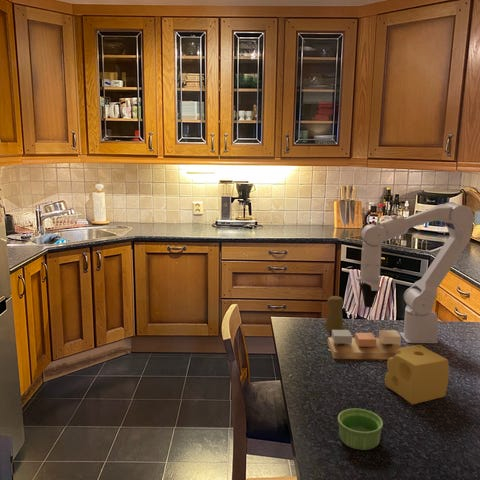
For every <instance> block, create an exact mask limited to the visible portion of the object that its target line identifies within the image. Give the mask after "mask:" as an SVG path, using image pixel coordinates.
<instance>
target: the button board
mask: <svg viewBox="0 0 480 480" xmlns="http://www.w3.org/2000/svg"><path fill="white" fill-rule="evenodd" d="M375 338H376V347H359V346H358V345H357V343H356V341H355V337H352V344H348V343H334V341H333V339H332V336H331V337H329V336H328V338H327V344H328V348H329V349H330V352H331V355H332V358H333V359H334V360H388V359H389V358H391V357H394V356H395V355H396V354H397V351H398V349H400V348H402V347H401V344H383V343H382V341H381V340H380V338H379V337H375Z"/></svg>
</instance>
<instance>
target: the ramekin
mask: <svg viewBox="0 0 480 480" xmlns="http://www.w3.org/2000/svg"><path fill="white" fill-rule="evenodd" d="M337 422H338V435H339V438H340V439H339V440H341V442H342V443H344V445H345V446H347V447H349V448H351V449H354V450H360V451H368V450H372V449H374V448H376V447H377V446H378V445H379V444H380V441H381V434H382V430H383V426H384V422H383V420H382V418H381V417H380V416H379V415H378V414H377V413H375V412H373V411H371V410H367V409H364V408H347V409H344V410H342V411H341V412H339V414H338V416H337Z"/></svg>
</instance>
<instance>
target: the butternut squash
mask: <svg viewBox="0 0 480 480" xmlns="http://www.w3.org/2000/svg"><path fill="white" fill-rule="evenodd" d="M327 306H328V311H327V317H326V321H325V327H324V328H325V330H326V331H328V332H330V333H332V330H345V328H344V320H343V306H344V299H343V297H341V296H338V295H331V296H329V297H328V298H327Z"/></svg>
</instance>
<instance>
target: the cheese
mask: <svg viewBox="0 0 480 480" xmlns="http://www.w3.org/2000/svg"><path fill="white" fill-rule="evenodd" d="M449 365H450V364H449V360H448V359H447V358H445V357H444V356H442V355H440V354H438V353H436V352H434V351H432V350H430V349H428V348H427V347H425V346H423V345H421V344H416V345H408V346H404V347H401V348H400V349H398V351H397V354H396V355H395V356H394V357H391V358H389V359H387V362H386V367H387V372H386V373H385V375H384V385H385V387H386V388H387V389H390V390H391V391H392V392H394V393H395V394H397V395H399V396H400V397H402V398H403V399H404V400H406V401H407V402H408V403H409V404H411V405H416V404H420V403H423V402H429V401H433V400H437V399H441V398H446V394H447V390H448V385H449V384H448V383H449V377H450V376H449V375H450V366H449Z"/></svg>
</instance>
